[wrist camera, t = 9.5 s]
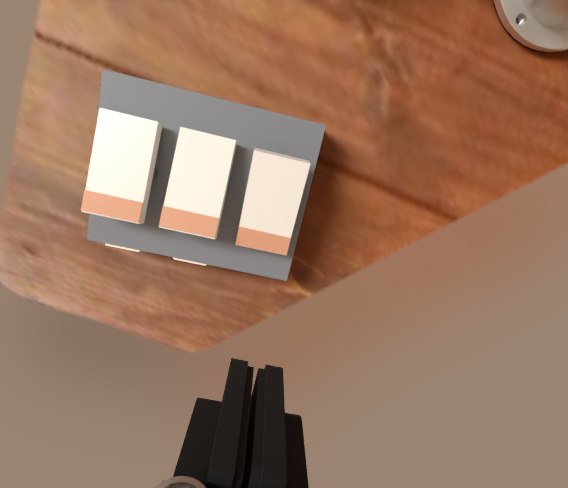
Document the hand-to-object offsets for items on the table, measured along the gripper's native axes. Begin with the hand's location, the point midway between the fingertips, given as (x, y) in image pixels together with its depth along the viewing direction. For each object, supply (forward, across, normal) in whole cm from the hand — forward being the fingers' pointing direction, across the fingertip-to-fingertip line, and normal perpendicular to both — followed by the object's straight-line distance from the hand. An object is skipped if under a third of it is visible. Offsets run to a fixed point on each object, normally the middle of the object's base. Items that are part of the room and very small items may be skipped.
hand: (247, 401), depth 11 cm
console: (+25, +6, -3) cm, 26 cm away
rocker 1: (+20, +12, -3) cm, 23 cm away
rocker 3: (+20, 0, -3) cm, 20 cm away
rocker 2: (+20, +6, -3) cm, 21 cm away
